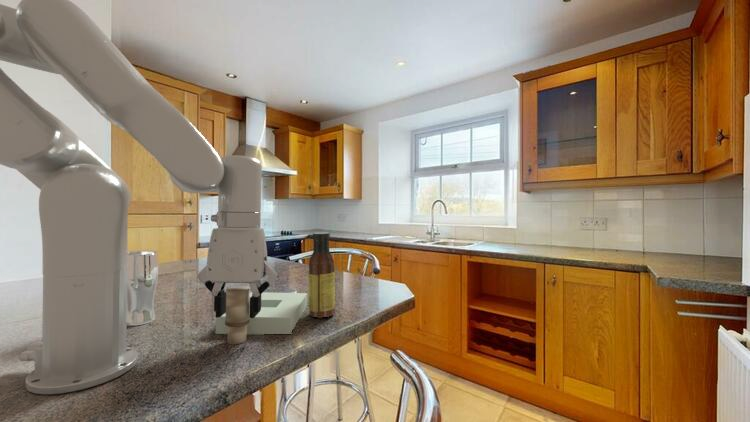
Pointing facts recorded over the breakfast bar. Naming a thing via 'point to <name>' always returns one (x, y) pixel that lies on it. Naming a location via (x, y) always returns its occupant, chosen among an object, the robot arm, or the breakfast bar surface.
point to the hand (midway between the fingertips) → (237, 314)
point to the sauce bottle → (321, 277)
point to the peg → (237, 313)
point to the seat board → (272, 314)
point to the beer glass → (141, 286)
